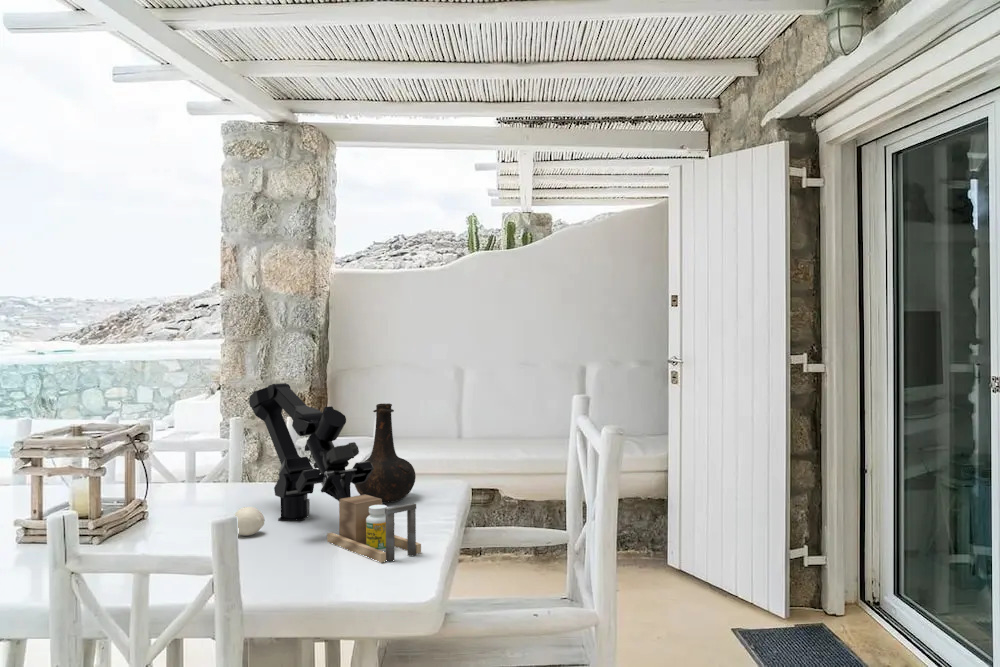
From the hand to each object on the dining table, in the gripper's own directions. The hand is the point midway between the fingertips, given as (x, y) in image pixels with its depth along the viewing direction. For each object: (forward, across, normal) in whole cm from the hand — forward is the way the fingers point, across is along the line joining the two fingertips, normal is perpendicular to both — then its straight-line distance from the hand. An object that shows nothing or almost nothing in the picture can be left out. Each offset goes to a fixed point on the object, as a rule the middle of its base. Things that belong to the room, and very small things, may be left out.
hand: (349, 505), depth 171 cm
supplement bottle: (+14, 0, -3) cm, 15 cm away
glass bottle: (-14, +29, +25) cm, 41 cm away
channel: (+13, 0, -1) cm, 13 cm away
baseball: (-8, -16, +20) cm, 27 cm away
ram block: (+9, 0, +2) cm, 9 cm away
